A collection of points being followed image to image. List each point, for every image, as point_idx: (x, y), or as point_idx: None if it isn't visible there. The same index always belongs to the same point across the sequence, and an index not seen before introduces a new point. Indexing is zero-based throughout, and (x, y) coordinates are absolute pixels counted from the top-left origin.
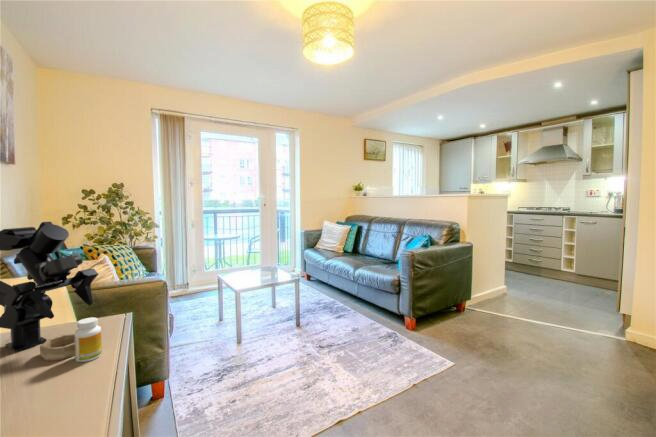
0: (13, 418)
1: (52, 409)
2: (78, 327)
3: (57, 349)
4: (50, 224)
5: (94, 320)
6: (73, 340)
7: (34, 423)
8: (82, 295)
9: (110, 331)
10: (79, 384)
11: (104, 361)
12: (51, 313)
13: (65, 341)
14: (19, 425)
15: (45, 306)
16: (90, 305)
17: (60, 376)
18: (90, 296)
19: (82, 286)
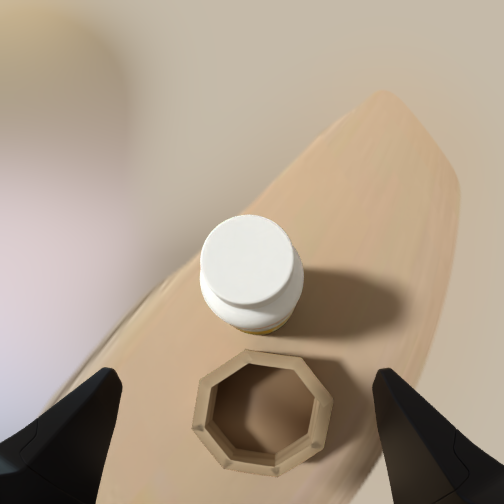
0: (452, 200)
1: (413, 164)
2: (293, 270)
3: (313, 374)
4: None
5: (234, 222)
6: (215, 429)
7: (436, 159)
8: (85, 471)
9: None
10: (355, 188)
11: None
12: (397, 379)
13: (231, 448)
14: (449, 175)
15: (435, 425)
16: (118, 381)
17: (359, 265)
18: (72, 398)
19: (32, 496)
